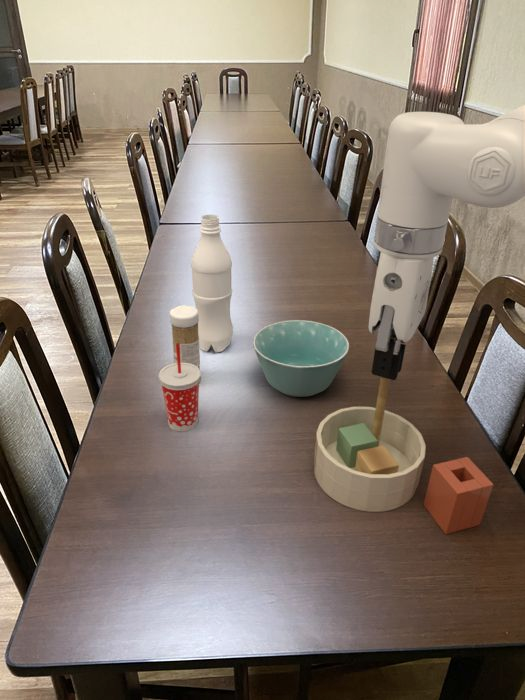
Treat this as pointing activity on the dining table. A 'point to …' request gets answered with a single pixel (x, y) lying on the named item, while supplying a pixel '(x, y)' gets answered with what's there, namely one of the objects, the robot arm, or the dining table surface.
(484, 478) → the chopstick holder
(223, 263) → the water bottle
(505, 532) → the dining table surface
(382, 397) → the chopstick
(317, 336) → the bowl
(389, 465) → the maple block
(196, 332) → the sprinkles bottle
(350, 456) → the sage block
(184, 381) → the beverage cup
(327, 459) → the stir bowl
